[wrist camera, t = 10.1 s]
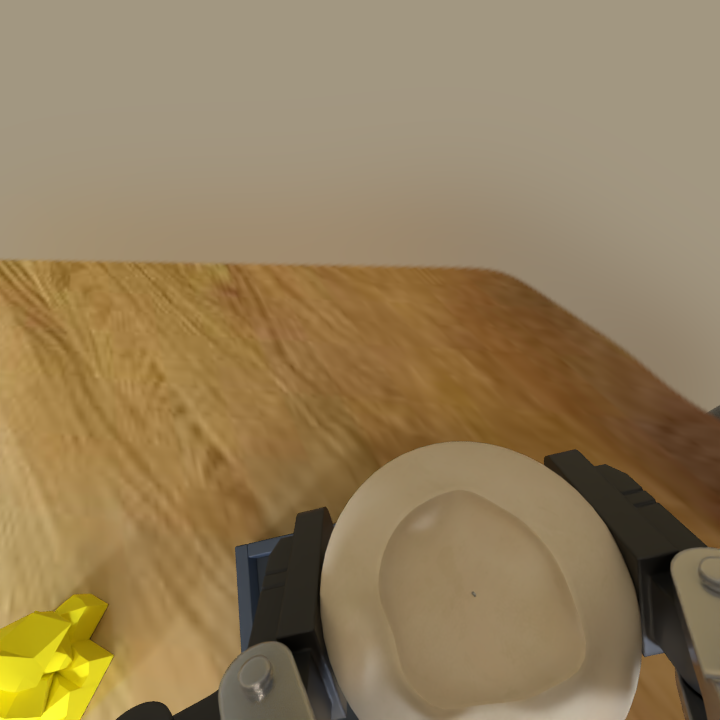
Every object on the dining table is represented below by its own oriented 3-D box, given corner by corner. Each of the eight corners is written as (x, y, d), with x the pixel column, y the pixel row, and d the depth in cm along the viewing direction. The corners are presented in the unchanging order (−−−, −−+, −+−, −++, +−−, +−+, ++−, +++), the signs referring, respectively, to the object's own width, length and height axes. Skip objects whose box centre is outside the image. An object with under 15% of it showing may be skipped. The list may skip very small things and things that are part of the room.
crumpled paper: (-11, 712, 27) (-163, 759, 20) (68, 580, 30) (-42, 581, 23) (55, 765, 26) (-86, 836, 19) (133, 619, 28) (35, 633, 21)
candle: (566, 568, 15) (750, 550, 6) (484, 727, 14) (575, 1002, 5) (429, 475, 17) (422, 364, 8) (344, 604, 16) (225, 635, 7)
